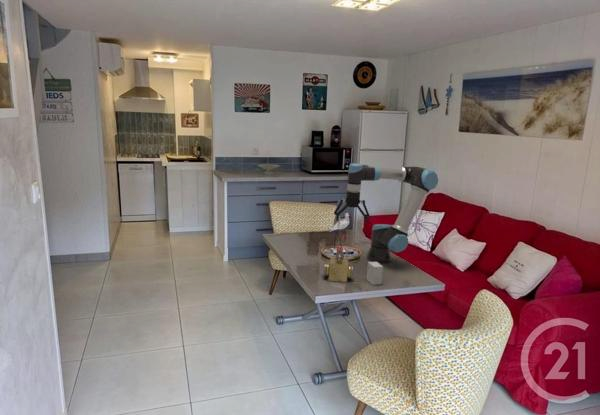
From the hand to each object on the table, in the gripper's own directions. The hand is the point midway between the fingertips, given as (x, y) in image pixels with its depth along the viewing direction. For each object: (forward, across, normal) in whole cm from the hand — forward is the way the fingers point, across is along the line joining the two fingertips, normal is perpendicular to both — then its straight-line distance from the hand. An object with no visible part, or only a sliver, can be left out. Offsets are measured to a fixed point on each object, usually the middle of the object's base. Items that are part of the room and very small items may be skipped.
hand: (350, 227), depth 238 cm
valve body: (+27, +6, +13) cm, 30 cm away
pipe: (+27, +6, +13) cm, 30 cm away
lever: (+15, +5, +7) cm, 17 cm away
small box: (+27, -14, +14) cm, 33 cm away
